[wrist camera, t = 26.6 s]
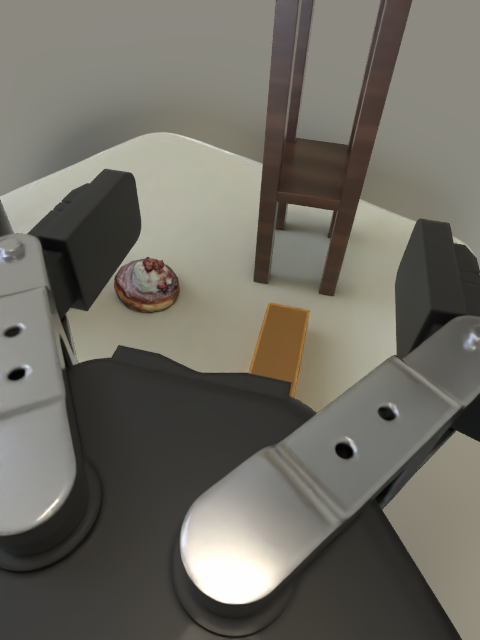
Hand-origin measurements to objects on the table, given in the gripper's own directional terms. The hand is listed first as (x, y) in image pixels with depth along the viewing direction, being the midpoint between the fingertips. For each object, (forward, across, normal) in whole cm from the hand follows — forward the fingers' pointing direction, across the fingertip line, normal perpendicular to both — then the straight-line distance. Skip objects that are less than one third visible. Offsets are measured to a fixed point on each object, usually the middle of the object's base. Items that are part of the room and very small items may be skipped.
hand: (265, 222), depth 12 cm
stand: (+37, 0, +28) cm, 46 cm away
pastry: (+24, +17, +28) cm, 41 cm away
